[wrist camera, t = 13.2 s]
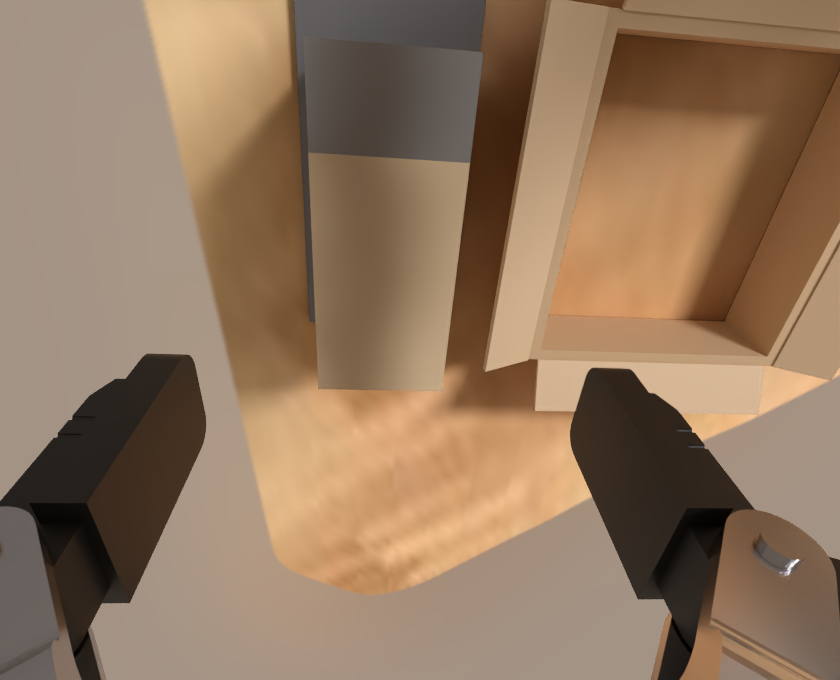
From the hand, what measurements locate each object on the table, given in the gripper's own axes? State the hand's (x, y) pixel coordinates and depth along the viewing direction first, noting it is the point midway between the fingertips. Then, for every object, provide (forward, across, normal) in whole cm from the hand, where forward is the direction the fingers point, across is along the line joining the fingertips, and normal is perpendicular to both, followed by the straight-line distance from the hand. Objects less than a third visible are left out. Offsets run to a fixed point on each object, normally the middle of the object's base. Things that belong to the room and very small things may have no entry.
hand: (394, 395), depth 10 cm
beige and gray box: (+17, 0, 0) cm, 17 cm away
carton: (+17, -15, 0) cm, 23 cm away
